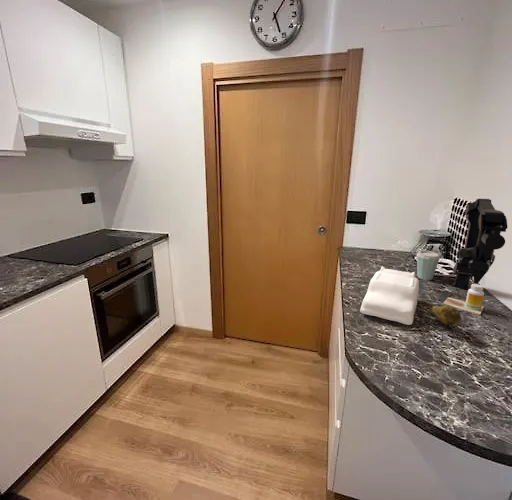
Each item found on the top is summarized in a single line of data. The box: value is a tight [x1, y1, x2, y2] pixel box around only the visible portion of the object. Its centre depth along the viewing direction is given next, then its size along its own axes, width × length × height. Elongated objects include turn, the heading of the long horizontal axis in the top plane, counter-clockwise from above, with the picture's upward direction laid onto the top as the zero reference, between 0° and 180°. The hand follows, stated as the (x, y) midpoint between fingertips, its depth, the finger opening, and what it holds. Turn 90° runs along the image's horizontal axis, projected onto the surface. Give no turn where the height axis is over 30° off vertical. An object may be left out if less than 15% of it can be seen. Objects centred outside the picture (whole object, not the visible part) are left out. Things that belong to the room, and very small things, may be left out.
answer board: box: [442, 297, 485, 316], centre depth 122 cm, size 9×13×1 cm
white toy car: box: [359, 265, 420, 326], centre depth 120 cm, size 19×30×13 cm, turn 148°
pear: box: [429, 305, 462, 327], centre depth 107 cm, size 8×13×8 cm, turn 157°
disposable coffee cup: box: [416, 249, 441, 281], centre depth 150 cm, size 11×11×15 cm
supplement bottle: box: [464, 283, 485, 310], centre depth 119 cm, size 5×5×10 cm
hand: (477, 280), depth 118 cm, fingers open, 9 cm apart
